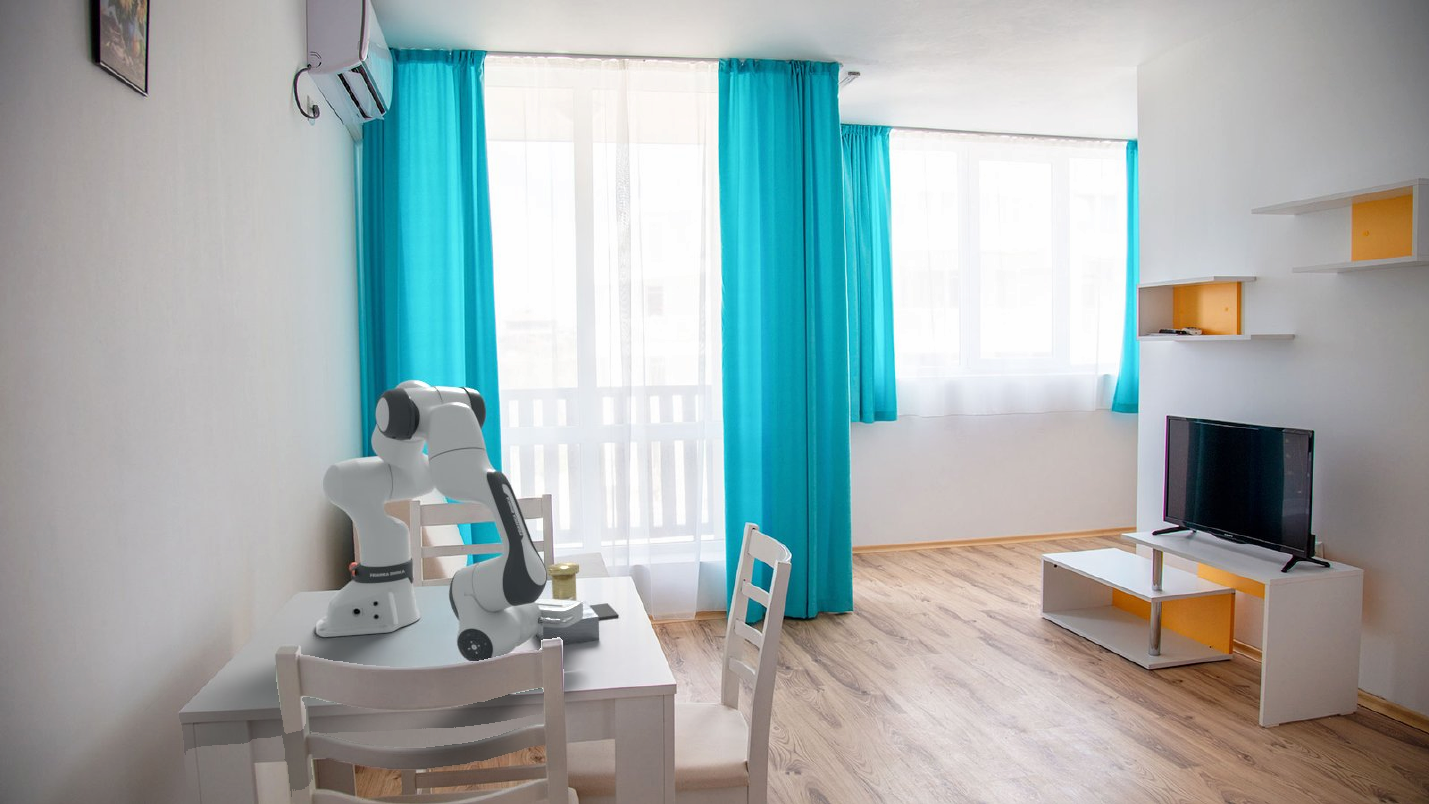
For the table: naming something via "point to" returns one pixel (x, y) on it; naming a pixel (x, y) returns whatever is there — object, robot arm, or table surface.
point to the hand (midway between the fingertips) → (550, 599)
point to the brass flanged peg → (563, 580)
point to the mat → (604, 611)
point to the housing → (575, 629)
